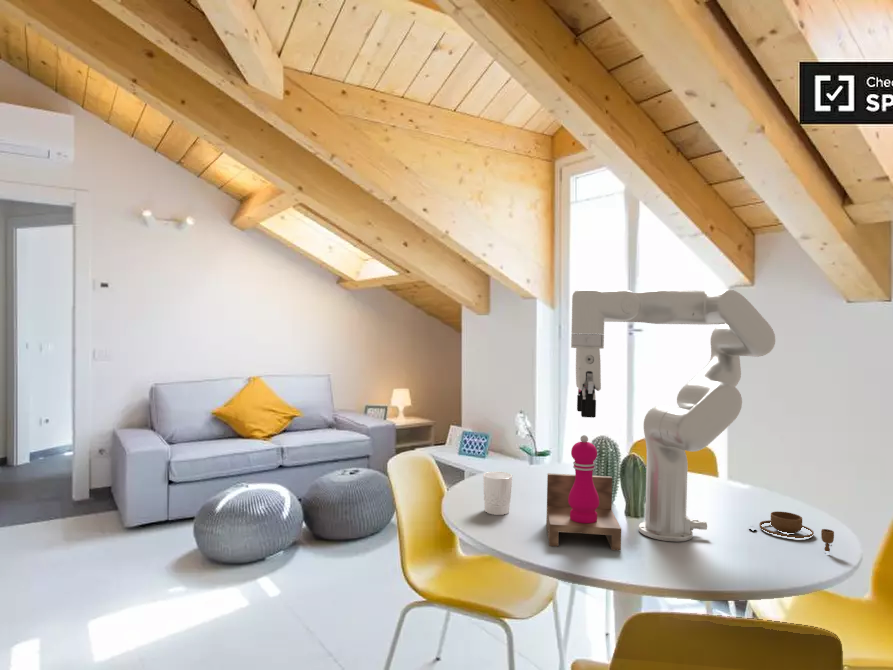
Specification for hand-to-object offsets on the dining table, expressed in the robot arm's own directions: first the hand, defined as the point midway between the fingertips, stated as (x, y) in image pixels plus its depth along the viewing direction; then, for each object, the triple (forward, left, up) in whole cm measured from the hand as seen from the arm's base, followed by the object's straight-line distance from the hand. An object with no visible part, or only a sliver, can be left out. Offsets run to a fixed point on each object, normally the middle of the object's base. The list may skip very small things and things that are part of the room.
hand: (585, 414), depth 140 cm
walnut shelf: (0, -3, -30) cm, 30 cm away
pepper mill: (0, 0, -25) cm, 25 cm away
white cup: (+21, -19, -30) cm, 42 cm away
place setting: (-51, -12, -31) cm, 60 cm away
